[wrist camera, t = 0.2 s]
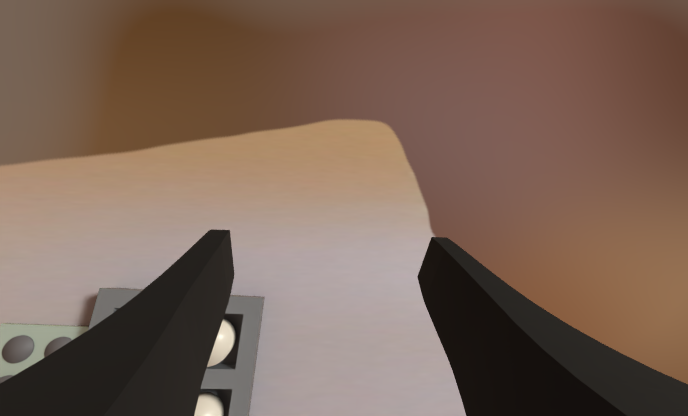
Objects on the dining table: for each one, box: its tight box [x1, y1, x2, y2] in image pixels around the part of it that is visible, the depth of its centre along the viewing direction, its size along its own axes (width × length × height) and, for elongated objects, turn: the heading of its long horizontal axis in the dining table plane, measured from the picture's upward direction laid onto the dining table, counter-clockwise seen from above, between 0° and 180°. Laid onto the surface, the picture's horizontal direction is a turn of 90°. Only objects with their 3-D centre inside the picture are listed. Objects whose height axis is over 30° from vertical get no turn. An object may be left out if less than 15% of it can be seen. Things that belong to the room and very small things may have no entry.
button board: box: [88, 288, 264, 416], centre depth 33 cm, size 18×18×3 cm
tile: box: [0, 323, 89, 383], centre depth 32 cm, size 9×9×1 cm
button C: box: [207, 318, 236, 367], centre depth 33 cm, size 5×5×3 cm
